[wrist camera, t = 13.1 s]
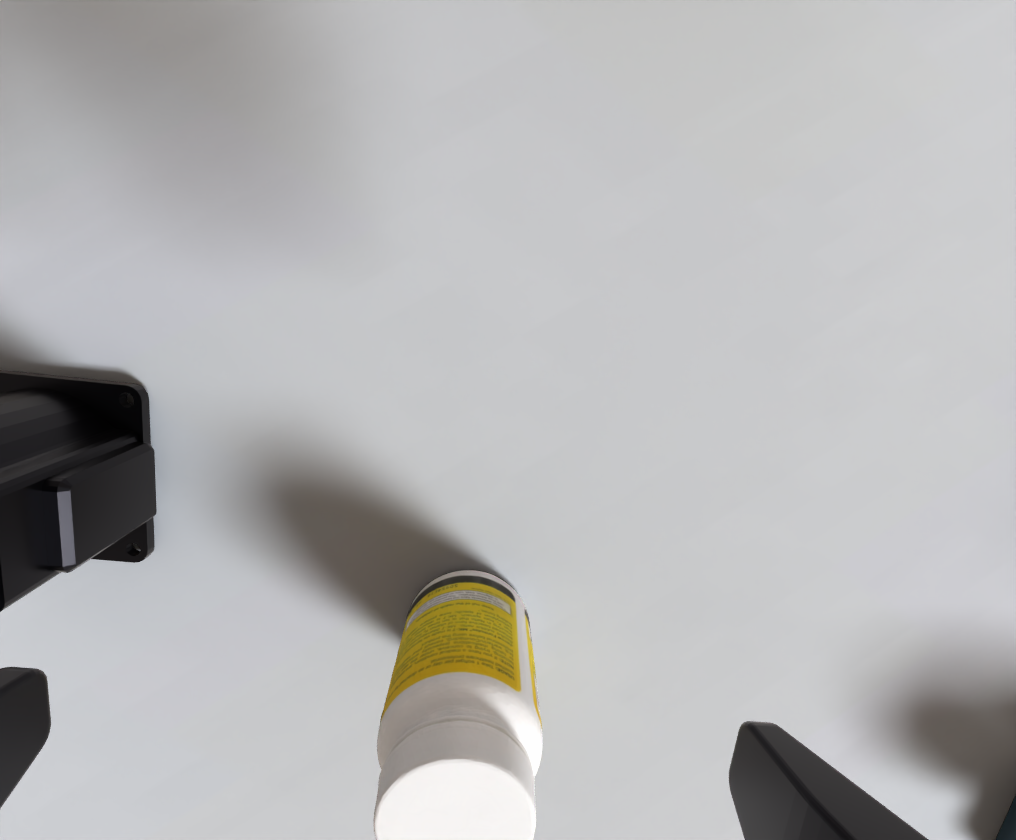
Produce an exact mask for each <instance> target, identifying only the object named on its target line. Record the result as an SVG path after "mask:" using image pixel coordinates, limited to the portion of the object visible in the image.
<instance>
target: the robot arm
mask: <svg viewBox="0 0 1016 840" xmlns="http://www.w3.org/2000/svg"><path fill="white" fill-rule="evenodd" d="M127 393H129V394H131V395H132V396H133V398H134V404H130V403H129V402H128V401H127V398H126V396H127ZM155 514H156V488H155V459H154V449H153V448H152V446H151V441H150V414H149V397H148V393H147V392H146V391H145V389H144V388H143V387H141V386H140V385H137V384H134V383H124V382H114V381H104V380H94V379H84V378H74V377H64V376H54V375H44V374H34V373H24V372H14V371H4V370H0V612H1V611H2V610H4V609H5V608H7V607H8V606H10V605H11V604H13V603H14V602H16V601H18V600H19V599H21V598H22V597H24V596H25V595H27V594H28V593H30V592H31V591H33V590H35V589H36V588H38V587H39V586H41V585H42V584H44V583H45V582H47V581H48V580H50V579H52V578H53V577H55V576H56V575H58V574H59V573H61V572H65V573H68V572H71V571H73V570H74V569H76V568H77V567H79V566H80V565H82V564H84V563H85V562H87V561H88V560H90V559H99V560H111V561H123V562H140V561H142V560H144V559H145V558H147V557H148V556H149V555H150V554H151V553H152V552H153V550H154V523H153V516H154V515H155ZM133 543H134V544H137V545H138V546H139V547H140V549H141V551H138V550H136V549H135V548H134V546H133ZM50 727H51V716H50V705H49V694H48V683H47V677H46V675H45V674H44V672H43V671H41V670H39V669H33V668H20V667H6V668H2V669H0V808H1V807H2V805H3V804H4V802H5V801H6V800H7V798H8V797H9V795H10V794H11V792H12V791H13V789H14V788H15V787H16V785H17V784H18V782H19V781H20V779H21V778H22V777H23V775H24V774H25V772H26V771H27V769H28V768H29V766H30V765H31V764H32V762H33V761H34V759H35V758H36V756H37V755H38V753H39V752H40V751H41V749H42V747H43V746H44V744H45V742H46V740H47V738H48V735H49V732H50ZM729 785H730V791H731V795H732V798H733V801H734V805H735V808H736V812H737V815H738V818H739V822H740V825H741V828H742V832H743V835H744V838H745V840H928V839H927V838H926V837H924V836H923V835H922V834H920V833H919V832H918V831H916V830H915V829H914V828H912V827H911V826H910V825H908V824H907V823H906V822H904V821H903V820H902V819H900V818H899V817H898V816H896V815H895V814H894V813H893V812H891V811H890V810H889V809H887V808H886V807H885V806H883V805H882V804H881V803H879V802H878V801H877V800H875V799H874V798H873V797H871V796H870V795H869V794H867V793H866V792H865V791H863V790H862V789H861V788H860V787H858V786H857V785H856V784H854V783H853V782H852V781H850V780H849V779H848V778H846V777H845V776H844V775H842V774H841V773H840V772H838V771H837V770H836V769H834V768H833V767H832V766H831V765H829V764H828V763H827V762H825V761H824V760H823V759H821V758H820V757H819V756H817V755H816V754H815V753H813V752H812V751H811V750H809V749H808V748H807V747H805V746H804V745H803V744H801V743H800V742H799V741H798V740H796V739H795V738H794V737H792V736H791V735H790V734H788V733H787V732H786V731H784V730H783V729H782V728H780V727H779V726H777V725H776V724H773V723H767V722H753V721H747V722H744V723H743V724H742V725H741V727H740V729H739V732H738V736H737V740H736V744H735V749H734V753H733V757H732V761H731V765H730V770H729Z"/></svg>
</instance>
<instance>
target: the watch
mask: <svg viewBox="0 0 1016 840" xmlns="http://www.w3.org/2000/svg"><path fill="white" fill-rule="evenodd" d="M996 840H1016V796H1015V798H1014V801H1013V803H1012V805H1011V807H1010V809H1009V812H1008V814H1007V816H1006V818H1005V820H1004V822H1003V825H1002V827H1001V829H1000V831H999V833H998V836H997V838H996Z"/></svg>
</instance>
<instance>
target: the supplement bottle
mask: <svg viewBox="0 0 1016 840" xmlns="http://www.w3.org/2000/svg"><path fill="white" fill-rule="evenodd" d="M542 742H543V741H542V724H541V716H540V708H539V700H538V691H537V682H536V674H535V665H534V657H533V648H532V639H531V632H530V623H529V617H528V613H527V610H526V607H525V605H524V603H523V601H522V599H521V598H520V596H519V595H518V594H517V592H516V591H515V590H514V589H513V588H512V587H511V586H509V585H508V584H507V583H506V582H504V581H503V580H501V579H500V578H498V577H496V576H494V575H492V574H489V573H485V572H481V571H475V570H462V571H455V572H451V573H448V574H445V575H443V576H440V577H438V578H436V579H435V580H433V581H432V582H430V583H429V584H428V585H426V586H425V587H424V588H423V589H422V590H421V591H420V592H419V594H418V595H417V596H416V598H415V599H414V601H413V603H412V605H411V607H410V610H409V612H408V615H407V619H406V623H405V627H404V631H403V635H402V639H401V643H400V646H399V650H398V655H397V659H396V663H395V666H394V670H393V674H392V678H391V682H390V686H389V690H388V694H387V698H386V702H385V706H384V710H383V713H382V716H381V721H380V727H379V732H378V740H377V752H378V760H379V764H380V767H381V773H380V777H379V785H378V794H377V800H376V806H375V812H374V832H375V836H376V840H532V839H533V836H534V832H535V826H536V805H535V779H534V777H535V775H536V773H537V770H538V767H539V765H540V760H541V756H542Z"/></svg>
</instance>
